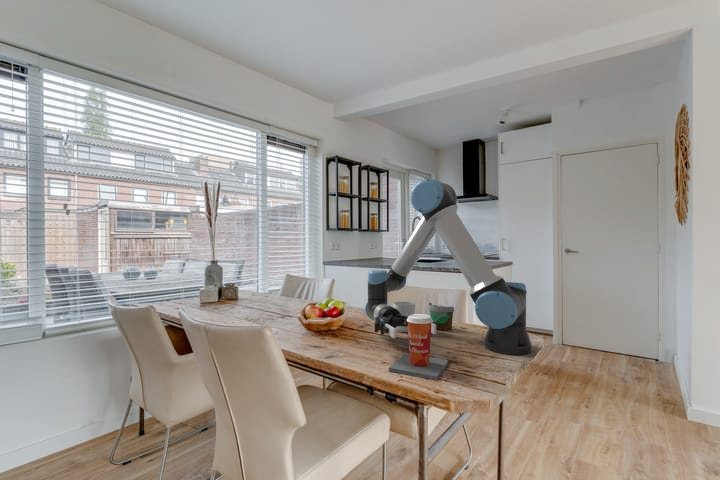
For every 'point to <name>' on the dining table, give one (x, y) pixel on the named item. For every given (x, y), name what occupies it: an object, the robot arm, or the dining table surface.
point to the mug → (404, 312)
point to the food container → (441, 316)
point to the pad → (427, 371)
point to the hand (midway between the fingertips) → (415, 331)
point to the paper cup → (419, 339)
